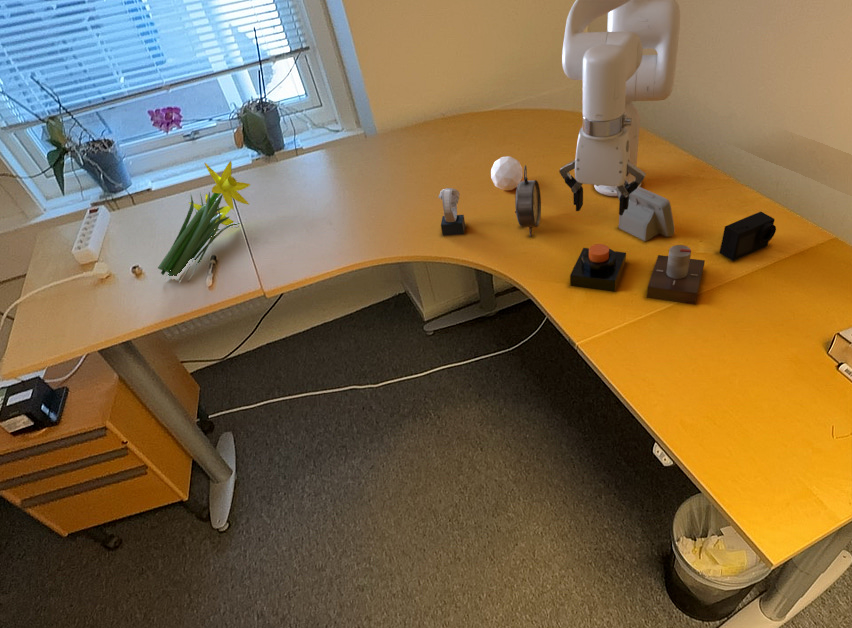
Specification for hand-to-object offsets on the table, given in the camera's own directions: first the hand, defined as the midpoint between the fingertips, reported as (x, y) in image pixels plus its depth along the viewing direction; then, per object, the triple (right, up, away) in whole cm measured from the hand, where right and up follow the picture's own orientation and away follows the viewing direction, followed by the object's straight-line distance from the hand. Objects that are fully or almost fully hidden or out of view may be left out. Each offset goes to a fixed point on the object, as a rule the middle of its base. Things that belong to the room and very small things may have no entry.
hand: (600, 209), depth 118 cm
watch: (-33, +5, +31) cm, 46 cm away
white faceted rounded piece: (-18, +21, +45) cm, 53 cm away
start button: (+1, -8, +8) cm, 11 cm away
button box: (+2, -11, +12) cm, 16 cm away
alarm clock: (-13, +5, +28) cm, 32 cm away
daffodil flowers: (-98, +1, +36) cm, 104 cm away
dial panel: (+17, -14, +7) cm, 23 cm away
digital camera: (+35, -6, +12) cm, 38 cm away
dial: (+17, -12, +4) cm, 21 cm away
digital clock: (+15, +3, +23) cm, 27 cm away
